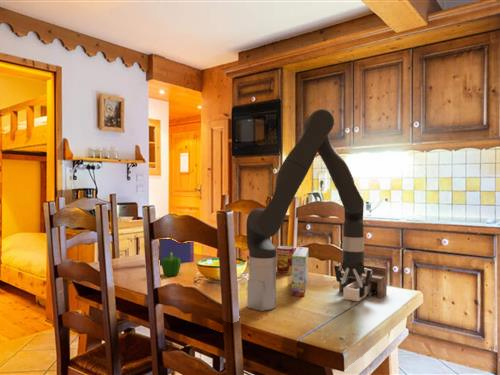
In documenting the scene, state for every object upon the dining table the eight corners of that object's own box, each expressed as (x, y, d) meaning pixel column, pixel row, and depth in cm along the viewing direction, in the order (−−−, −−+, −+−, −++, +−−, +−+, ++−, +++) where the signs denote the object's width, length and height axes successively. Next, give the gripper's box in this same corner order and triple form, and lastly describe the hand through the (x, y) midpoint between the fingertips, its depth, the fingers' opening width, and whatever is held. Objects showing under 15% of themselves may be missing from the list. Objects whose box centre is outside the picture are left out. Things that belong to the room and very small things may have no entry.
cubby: (380, 298, 140) (381, 271, 140) (339, 290, 149) (339, 265, 149) (386, 293, 146) (386, 267, 146) (346, 286, 155) (346, 262, 155)
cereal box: (190, 260, 206) (190, 215, 206) (193, 261, 202) (193, 216, 202) (158, 263, 197) (158, 217, 197) (161, 265, 193) (161, 217, 193)
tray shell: (358, 301, 135) (358, 290, 135) (343, 298, 138) (343, 287, 138) (371, 292, 146) (371, 281, 146) (357, 289, 150) (357, 279, 150)
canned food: (273, 272, 178) (273, 247, 178) (283, 270, 184) (283, 245, 184) (287, 275, 173) (287, 249, 173) (297, 272, 179) (297, 247, 179)
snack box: (305, 296, 142) (306, 256, 141) (290, 296, 143) (290, 255, 143) (308, 282, 162) (308, 246, 162) (295, 281, 164) (295, 246, 163)
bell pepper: (176, 278, 168) (176, 255, 168) (159, 277, 170) (159, 254, 169) (183, 273, 176) (183, 251, 176) (166, 272, 178) (166, 251, 178)
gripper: (376, 249, 137) (376, 296, 137) (338, 245, 146) (338, 289, 146) (369, 252, 131) (369, 301, 131) (330, 248, 140) (330, 294, 140)
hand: (352, 295), depth 139 cm, fingers closed on tray shell, 5 cm apart
